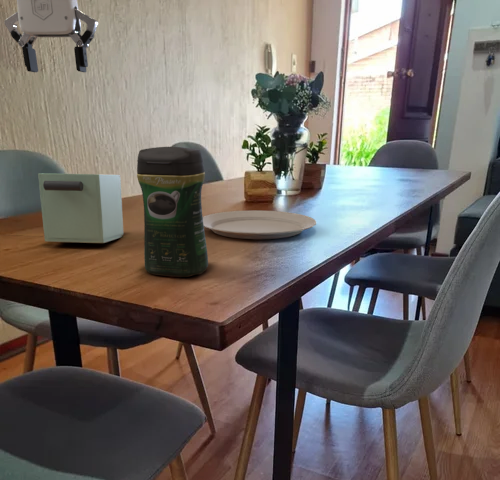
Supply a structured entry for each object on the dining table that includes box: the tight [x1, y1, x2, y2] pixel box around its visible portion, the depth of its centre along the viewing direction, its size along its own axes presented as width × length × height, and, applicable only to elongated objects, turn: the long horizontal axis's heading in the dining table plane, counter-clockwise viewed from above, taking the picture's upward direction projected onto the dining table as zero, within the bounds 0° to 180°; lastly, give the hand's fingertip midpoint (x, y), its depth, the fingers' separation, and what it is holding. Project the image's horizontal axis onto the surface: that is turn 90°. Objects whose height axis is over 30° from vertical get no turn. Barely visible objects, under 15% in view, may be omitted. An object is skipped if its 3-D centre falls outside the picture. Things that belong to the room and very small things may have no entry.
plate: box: [202, 209, 317, 240], centre depth 110 cm, size 26×26×2 cm
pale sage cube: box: [37, 172, 125, 244], centre depth 95 cm, size 14×11×12 cm
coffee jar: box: [136, 146, 209, 278], centre depth 77 cm, size 10×8×19 cm
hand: (57, 71), depth 97 cm, fingers open, 9 cm apart
